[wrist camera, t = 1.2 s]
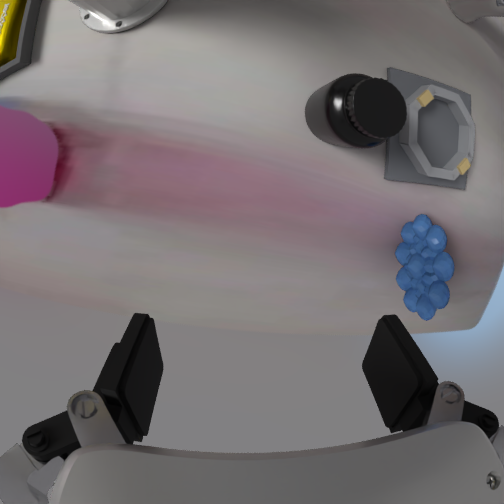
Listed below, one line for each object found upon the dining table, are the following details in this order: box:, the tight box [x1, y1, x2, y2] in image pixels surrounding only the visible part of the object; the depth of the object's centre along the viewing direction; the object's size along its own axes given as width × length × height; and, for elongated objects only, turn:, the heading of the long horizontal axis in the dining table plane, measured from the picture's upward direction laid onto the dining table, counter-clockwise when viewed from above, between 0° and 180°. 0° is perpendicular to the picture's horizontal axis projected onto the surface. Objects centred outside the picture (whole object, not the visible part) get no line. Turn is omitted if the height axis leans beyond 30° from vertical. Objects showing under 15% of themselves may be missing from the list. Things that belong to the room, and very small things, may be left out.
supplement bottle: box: [305, 73, 407, 148], centre depth 22 cm, size 7×7×12 cm
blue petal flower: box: [395, 214, 454, 321], centre depth 29 cm, size 12×7×12 cm, turn 177°
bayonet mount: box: [384, 67, 475, 190], centre depth 27 cm, size 14×14×4 cm
